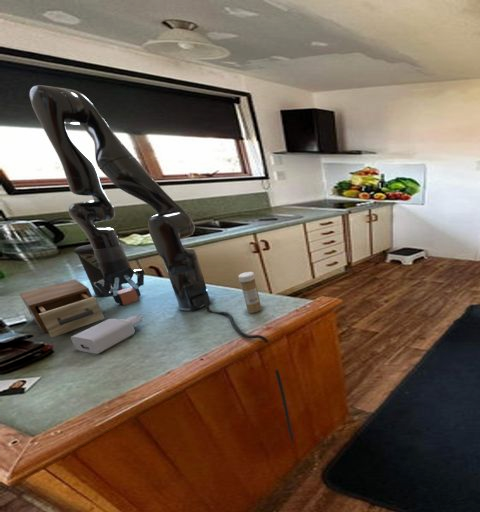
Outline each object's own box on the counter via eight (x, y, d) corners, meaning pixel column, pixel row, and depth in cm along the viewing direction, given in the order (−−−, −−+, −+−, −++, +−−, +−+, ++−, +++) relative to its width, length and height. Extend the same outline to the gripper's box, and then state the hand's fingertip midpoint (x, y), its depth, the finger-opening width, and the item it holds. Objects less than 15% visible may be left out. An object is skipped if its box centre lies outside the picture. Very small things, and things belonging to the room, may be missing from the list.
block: (139, 299, 102) (135, 289, 101) (123, 305, 99) (119, 294, 97) (134, 297, 105) (130, 286, 103) (119, 302, 101) (114, 291, 99)
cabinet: (100, 313, 94) (88, 288, 91) (44, 333, 84) (28, 305, 80) (86, 302, 102) (75, 279, 98) (33, 319, 92) (19, 293, 88)
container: (105, 297, 105) (84, 249, 98) (88, 296, 107) (66, 248, 100) (129, 287, 113) (111, 242, 106) (112, 286, 115) (93, 241, 108)
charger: (156, 323, 87) (99, 354, 73) (134, 320, 89) (76, 350, 75) (151, 310, 85) (92, 340, 71) (129, 307, 87) (68, 336, 74)
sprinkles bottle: (262, 305, 95) (254, 270, 90) (261, 311, 91) (253, 275, 86) (247, 308, 93) (239, 272, 89) (246, 314, 89) (237, 277, 85)
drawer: (109, 322, 87) (99, 300, 84) (55, 342, 77) (42, 319, 75) (91, 307, 96) (81, 287, 93) (41, 324, 87) (29, 302, 84)
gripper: (86, 266, 88) (107, 312, 94) (141, 253, 99) (156, 294, 105) (80, 263, 92) (100, 306, 98) (133, 250, 103) (148, 290, 109)
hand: (129, 300), depth 102 cm, fingers closed on block, 4 cm apart
